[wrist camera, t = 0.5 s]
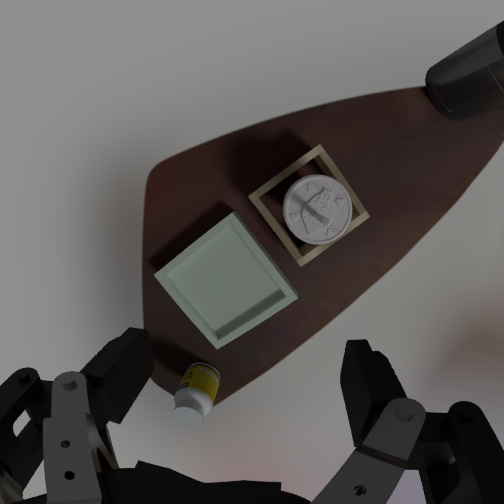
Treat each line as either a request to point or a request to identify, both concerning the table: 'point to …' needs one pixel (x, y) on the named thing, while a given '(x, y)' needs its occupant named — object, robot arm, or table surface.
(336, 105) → the table surface
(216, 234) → the tray
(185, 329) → the table surface
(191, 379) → the supplement bottle
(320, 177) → the smoothie
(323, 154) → the holder
